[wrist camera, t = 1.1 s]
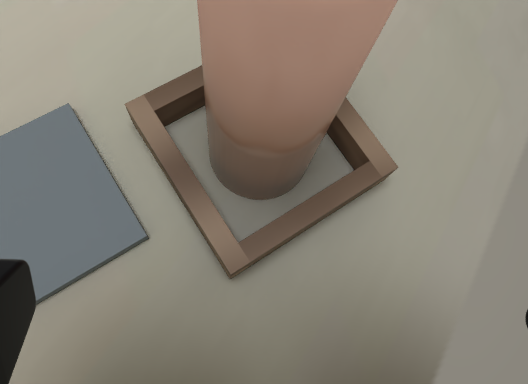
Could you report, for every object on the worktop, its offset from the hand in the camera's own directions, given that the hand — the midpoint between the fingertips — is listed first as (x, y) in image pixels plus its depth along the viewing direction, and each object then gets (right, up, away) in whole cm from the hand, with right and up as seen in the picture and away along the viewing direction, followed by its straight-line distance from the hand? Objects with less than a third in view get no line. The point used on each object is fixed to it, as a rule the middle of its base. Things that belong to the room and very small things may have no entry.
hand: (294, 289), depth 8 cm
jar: (-1, +4, +15) cm, 16 cm away
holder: (-1, +4, +15) cm, 16 cm away
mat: (-12, +1, +13) cm, 18 cm away
